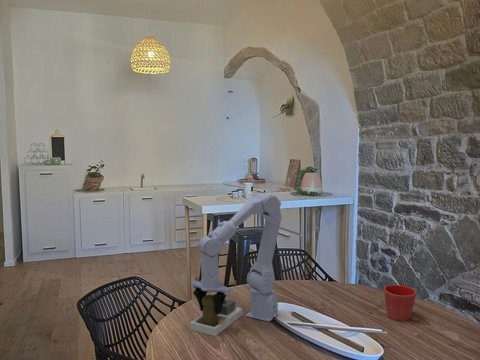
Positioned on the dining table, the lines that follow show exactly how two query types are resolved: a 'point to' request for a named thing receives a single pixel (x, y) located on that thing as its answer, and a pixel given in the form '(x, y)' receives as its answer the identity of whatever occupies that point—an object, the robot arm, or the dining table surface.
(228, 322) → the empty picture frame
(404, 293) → the flower pot
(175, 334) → the dining table surface
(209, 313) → the brown pear
